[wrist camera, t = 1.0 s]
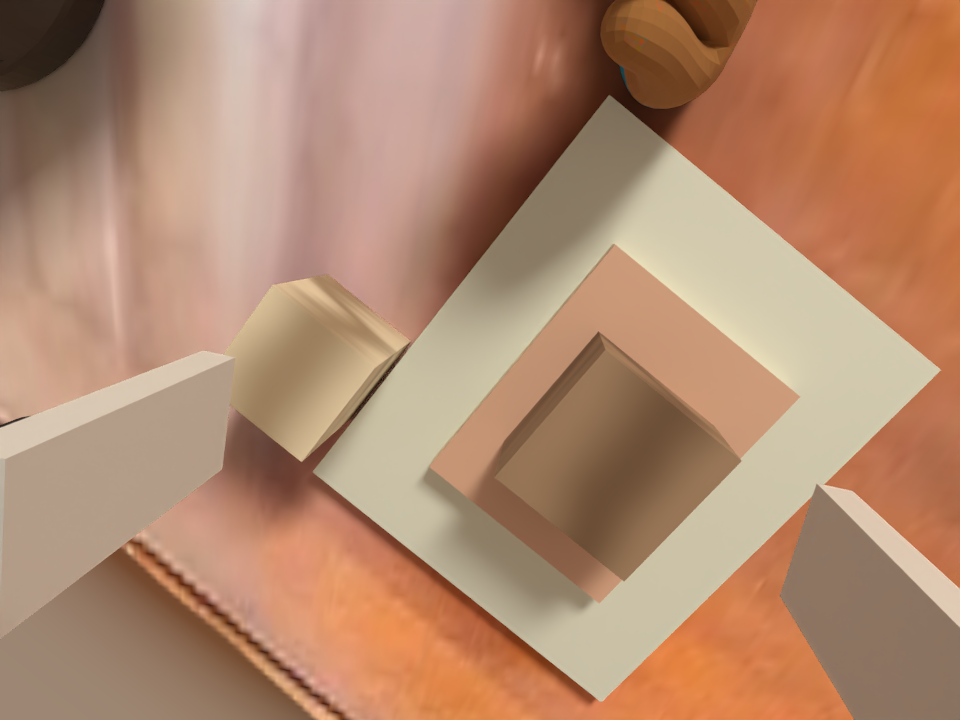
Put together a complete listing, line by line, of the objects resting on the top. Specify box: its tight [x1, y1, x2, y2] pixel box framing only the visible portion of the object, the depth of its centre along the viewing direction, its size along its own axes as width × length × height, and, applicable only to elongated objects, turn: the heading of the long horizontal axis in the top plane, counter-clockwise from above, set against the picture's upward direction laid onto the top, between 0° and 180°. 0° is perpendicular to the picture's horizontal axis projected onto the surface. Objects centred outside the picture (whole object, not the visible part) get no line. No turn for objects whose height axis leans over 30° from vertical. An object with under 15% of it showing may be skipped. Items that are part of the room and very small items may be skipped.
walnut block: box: [495, 331, 741, 581], centre depth 30 cm, size 7×7×5 cm
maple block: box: [223, 275, 411, 462], centre depth 32 cm, size 6×6×7 cm
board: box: [313, 95, 941, 702], centre depth 34 cm, size 20×24×2 cm
